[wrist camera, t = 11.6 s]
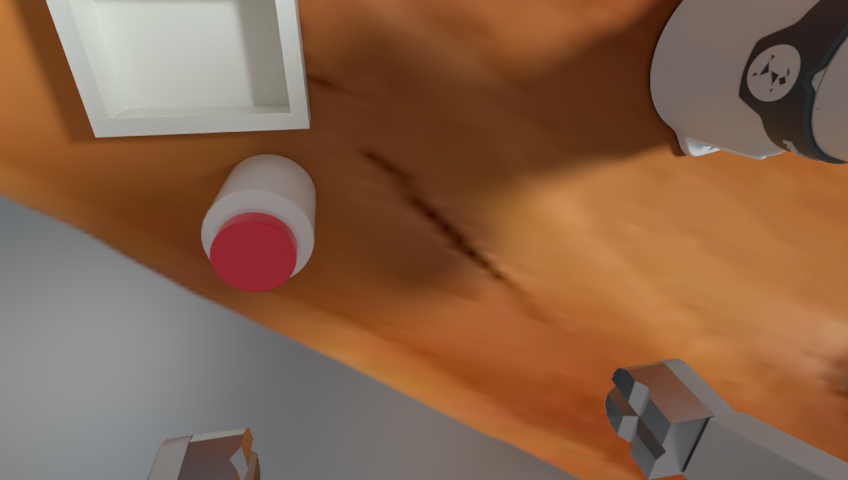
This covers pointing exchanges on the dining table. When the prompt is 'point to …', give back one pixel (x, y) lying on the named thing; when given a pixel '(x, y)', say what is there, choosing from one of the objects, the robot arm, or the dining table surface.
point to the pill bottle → (261, 223)
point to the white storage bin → (185, 64)
